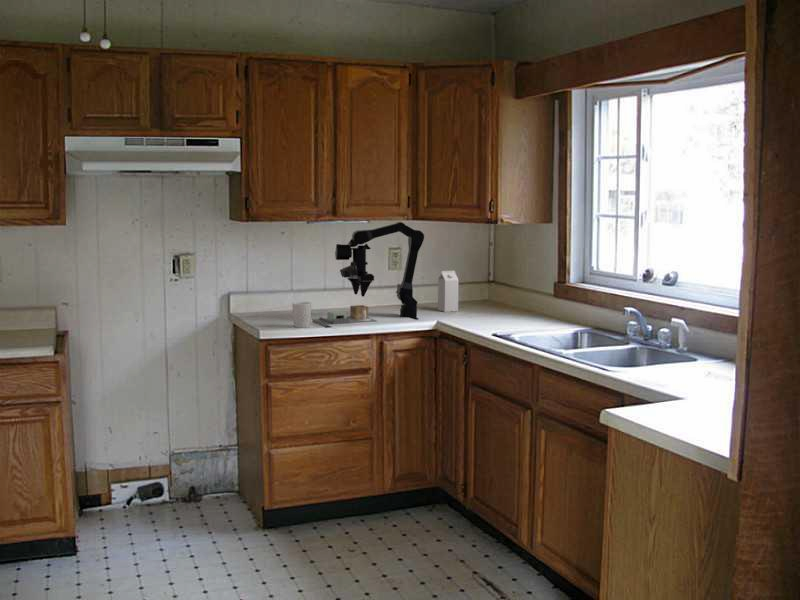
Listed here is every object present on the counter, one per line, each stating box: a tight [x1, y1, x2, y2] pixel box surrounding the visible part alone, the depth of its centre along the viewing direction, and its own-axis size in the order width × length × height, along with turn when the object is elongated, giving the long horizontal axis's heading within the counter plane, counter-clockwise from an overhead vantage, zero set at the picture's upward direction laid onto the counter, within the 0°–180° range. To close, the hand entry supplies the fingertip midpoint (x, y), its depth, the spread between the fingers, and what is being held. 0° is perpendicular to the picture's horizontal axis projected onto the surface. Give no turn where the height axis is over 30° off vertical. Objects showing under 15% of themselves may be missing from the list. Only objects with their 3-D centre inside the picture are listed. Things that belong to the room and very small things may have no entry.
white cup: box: [291, 301, 312, 329], centre depth 372 cm, size 8×8×10 cm
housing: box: [326, 310, 348, 322], centre depth 377 cm, size 6×7×4 cm
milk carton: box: [437, 270, 459, 313], centre depth 418 cm, size 7×7×19 cm
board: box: [312, 310, 377, 329], centre depth 382 cm, size 24×16×5 cm, turn 116°
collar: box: [349, 304, 369, 319], centre depth 389 cm, size 6×6×5 cm
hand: (359, 295), depth 388 cm, fingers open, 7 cm apart
